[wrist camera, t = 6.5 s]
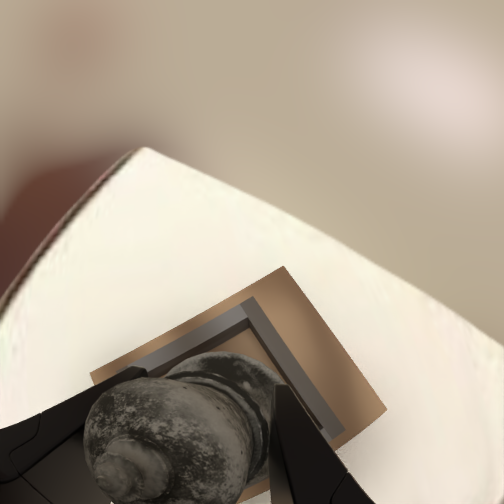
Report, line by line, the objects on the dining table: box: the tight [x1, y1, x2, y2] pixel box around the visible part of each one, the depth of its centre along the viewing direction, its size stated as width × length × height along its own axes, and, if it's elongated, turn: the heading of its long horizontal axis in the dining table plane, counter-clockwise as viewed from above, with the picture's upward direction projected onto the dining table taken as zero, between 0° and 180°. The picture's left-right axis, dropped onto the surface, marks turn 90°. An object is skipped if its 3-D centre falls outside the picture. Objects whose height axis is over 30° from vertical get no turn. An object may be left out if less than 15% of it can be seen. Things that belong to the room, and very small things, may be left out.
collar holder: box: [90, 266, 387, 504], centre depth 16 cm, size 18×14×4 cm
